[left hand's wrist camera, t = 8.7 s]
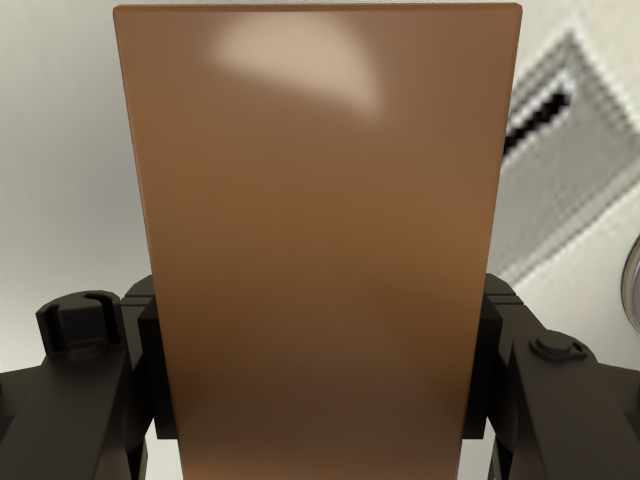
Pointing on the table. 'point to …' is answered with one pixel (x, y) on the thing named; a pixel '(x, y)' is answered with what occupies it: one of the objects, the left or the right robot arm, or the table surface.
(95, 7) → the table surface
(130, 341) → the left robot arm
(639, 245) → the right robot arm
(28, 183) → the table surface
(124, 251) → the table surface
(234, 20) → the post
